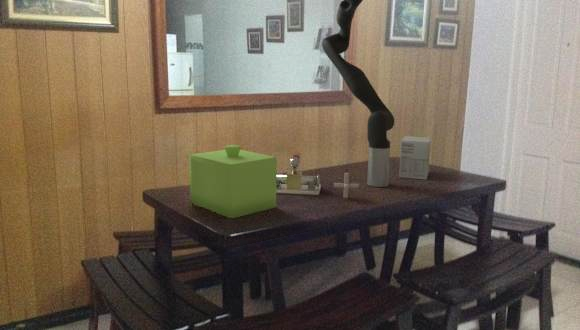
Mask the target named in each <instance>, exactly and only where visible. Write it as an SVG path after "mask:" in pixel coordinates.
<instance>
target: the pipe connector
mask: <svg viewBox="0 0 580 330" xmlns="http://www.w3.org/2000/svg"><path fill="white" fill-rule="evenodd" d="M349 178H350V173H349V172H344V177H343V183H342V182H334V183H333V188H341V189H342V188H343V198H344V199H348V198H349V189H359V185H360V183H349V180H350V179H349Z"/></svg>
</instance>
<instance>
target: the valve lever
mask: <svg viewBox="0 0 580 330" xmlns="http://www.w3.org/2000/svg"><path fill="white" fill-rule="evenodd" d="M301 156H302V155H301V152H294V154H293V155H292V158H290V163H289V164H290V165H289V166H290V167H297V168H299V167H300V163H301V160H302V159H301Z"/></svg>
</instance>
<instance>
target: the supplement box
mask: <svg viewBox="0 0 580 330" xmlns="http://www.w3.org/2000/svg"><path fill="white" fill-rule="evenodd" d="M431 143H432V138H431V137H422V136H410V135H409V136H408V135H405V136H403V137H402V138H401V142H400V156H399V158H400V159H399V173H398V174H399V175H398V176H399V178H403V179H415V180H424V181H425V180H427V178H428V176H429V173H430V172H429V168H430V151H431Z"/></svg>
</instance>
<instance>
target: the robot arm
mask: <svg viewBox="0 0 580 330" xmlns="http://www.w3.org/2000/svg"><path fill="white" fill-rule="evenodd" d="M363 1H364V0H342V1H341V2H340V3H339V5H338V9H337V13H336V23H337V25H338V26H339V28H340V30H339V31H338V32H337V33H334V34H332V35H328V36H326V37H325V38H323V39H322V40H321V45H322V49H323V53H324V54H325V55H326V56H327V57H328V59H329V60H330V61H331V63H332V64H333V66H334V67H335V68H336V69H337V71H338V72H339V74H340V76H341V77H342V78H343V82H345V84H346V86H347V88H348V89H349V91H350V92H351V94H352V95H353V96H354V97H355V98H356V99H358V100H359V101H360V102H361V103H362V104H363V105H364V106H366V108H367V109H368V110H369V112H370V115H369V116H368V120H367V142H368V156H367V157H368V160H367V176H366V177H367V178H366V181H367V182H366V184H367V185H368V186H370V187H375V188H384V187H389V181H390V152H391V141H390V140H389V139H388V137H387V136H388V132H387V131H390V130H392V129H393V128H394V125H395V117H394V115H393V113H392V112H391V111H390V110H389V108H388V106H387V105H386V104H385V103H384V102H383V101H382V99H381V98H380V97H379V95H378V93H377V91H376V90H375V88H374V87H373V85H372V84H371V82H370V80H369V78H368V77H367V75H366V74H365V72H364V71H363V70H362V69H361V68H359V67H357V66H356V65H354V64H352V63H350V62H349V61H347V60H346V59H345V58H343V56H342V55H341V54H343V53H345V52H346V51H348V49H349V46H350V39H351V31H352V22H353V19H354V16H355V13H356V10H357V9H358V7H359V6H360V4H362V2H363Z"/></svg>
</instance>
